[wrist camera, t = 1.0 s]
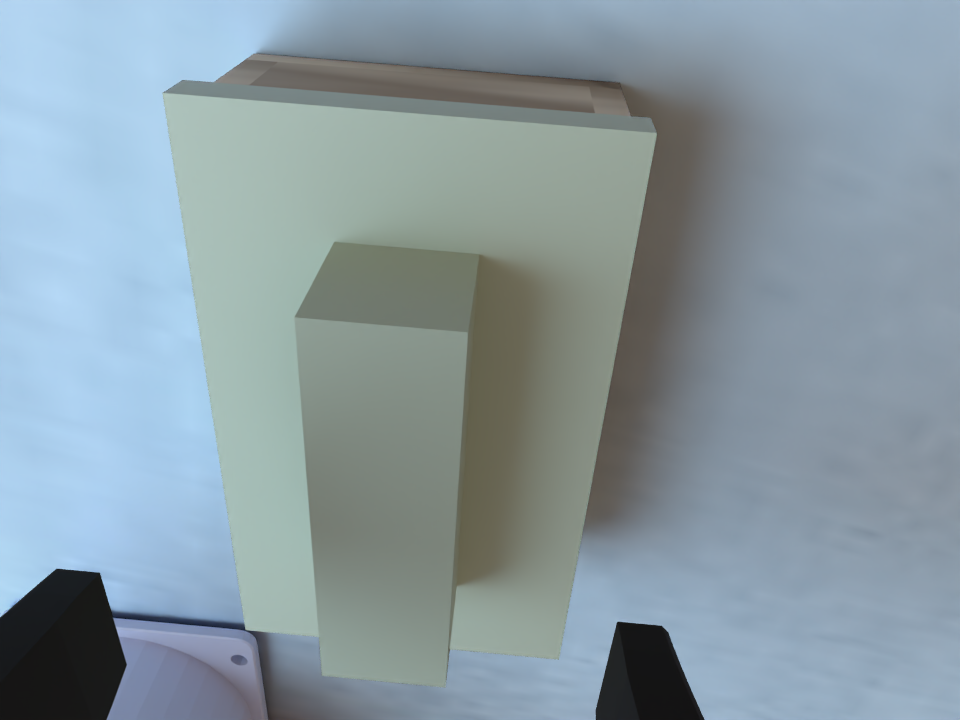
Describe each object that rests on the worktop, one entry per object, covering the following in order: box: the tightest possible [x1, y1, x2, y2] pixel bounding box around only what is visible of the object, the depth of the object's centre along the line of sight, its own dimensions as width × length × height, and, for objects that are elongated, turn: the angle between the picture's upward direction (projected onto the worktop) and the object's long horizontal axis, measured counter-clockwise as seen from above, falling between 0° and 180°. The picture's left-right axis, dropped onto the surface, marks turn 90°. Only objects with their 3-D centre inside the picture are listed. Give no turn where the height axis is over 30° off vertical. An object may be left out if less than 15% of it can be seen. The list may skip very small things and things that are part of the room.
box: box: [214, 54, 631, 116], centre depth 17 cm, size 12×7×3 cm, turn 176°
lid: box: [163, 80, 657, 687], centre depth 15 cm, size 12×7×4 cm, turn 176°
